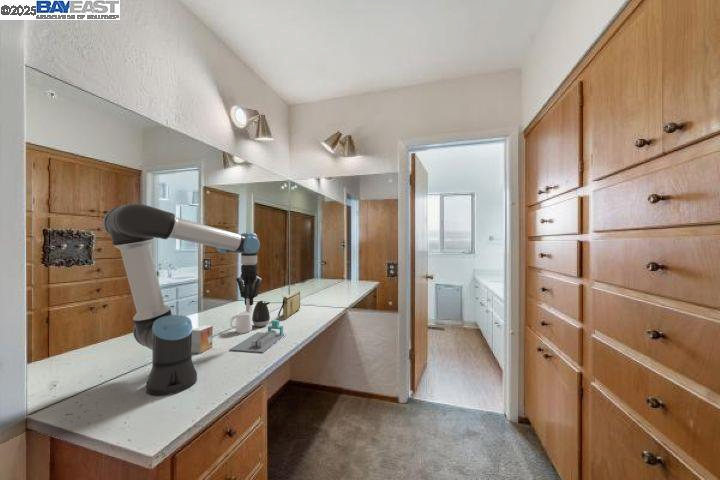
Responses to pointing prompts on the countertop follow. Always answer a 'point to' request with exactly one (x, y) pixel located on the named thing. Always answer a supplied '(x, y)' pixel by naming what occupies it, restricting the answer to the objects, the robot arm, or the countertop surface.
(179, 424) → the countertop surface
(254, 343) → the swing arm
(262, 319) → the pump dispenser
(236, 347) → the mat
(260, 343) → the tongs base
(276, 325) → the lock collar
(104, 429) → the countertop surface
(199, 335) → the small box
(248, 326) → the mug
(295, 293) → the clutch purse
